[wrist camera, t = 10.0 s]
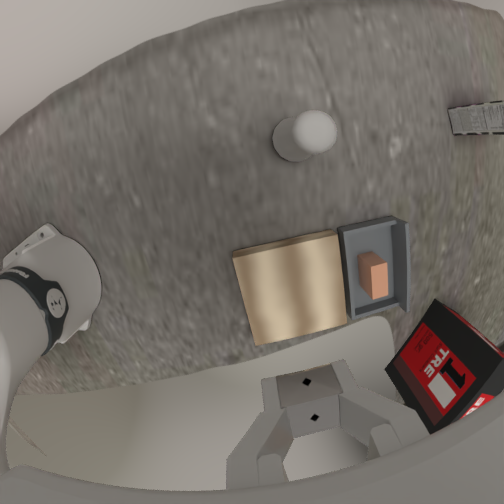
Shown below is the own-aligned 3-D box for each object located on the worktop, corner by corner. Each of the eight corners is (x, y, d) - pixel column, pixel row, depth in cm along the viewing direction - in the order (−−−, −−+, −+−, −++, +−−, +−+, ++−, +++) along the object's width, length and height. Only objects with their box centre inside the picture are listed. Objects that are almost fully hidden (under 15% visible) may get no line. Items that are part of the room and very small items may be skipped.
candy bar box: (483, 103, 34) (548, 99, 19) (489, 130, 36) (555, 132, 20) (444, 106, 35) (517, 97, 19) (452, 136, 36) (525, 137, 21)
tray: (346, 312, 44) (357, 328, 40) (337, 227, 40) (349, 236, 35) (395, 297, 44) (409, 311, 39) (391, 215, 40) (408, 222, 35)
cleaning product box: (434, 298, 45) (502, 358, 26) (457, 313, 46) (518, 367, 27) (384, 369, 49) (429, 443, 30) (411, 377, 51) (455, 442, 31)
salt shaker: (313, 121, 36) (348, 103, 23) (313, 162, 37) (348, 164, 25) (270, 118, 35) (285, 98, 23) (270, 161, 37) (285, 160, 25)
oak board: (254, 334, 45) (255, 345, 42) (232, 251, 40) (232, 258, 38) (340, 313, 44) (346, 323, 41) (330, 229, 40) (337, 234, 37)
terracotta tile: (372, 299, 38) (388, 295, 38) (370, 266, 36) (387, 262, 36) (359, 285, 42) (374, 281, 42) (357, 255, 41) (372, 251, 41)
